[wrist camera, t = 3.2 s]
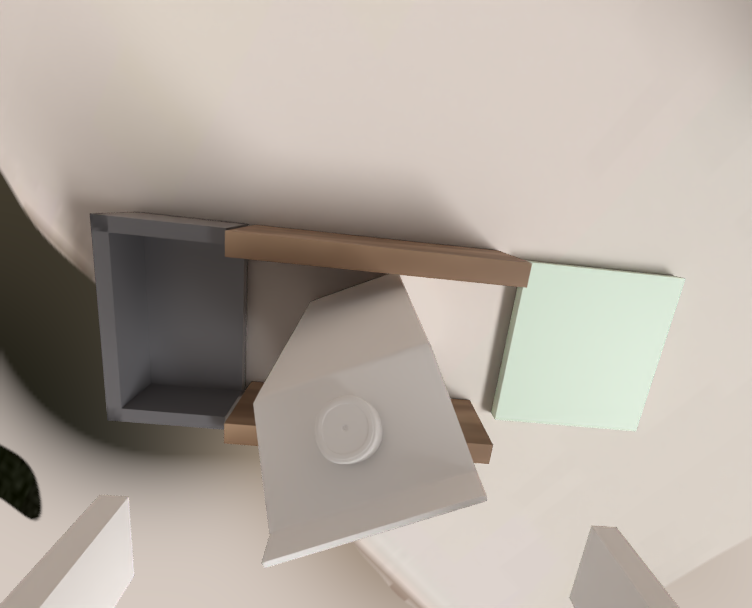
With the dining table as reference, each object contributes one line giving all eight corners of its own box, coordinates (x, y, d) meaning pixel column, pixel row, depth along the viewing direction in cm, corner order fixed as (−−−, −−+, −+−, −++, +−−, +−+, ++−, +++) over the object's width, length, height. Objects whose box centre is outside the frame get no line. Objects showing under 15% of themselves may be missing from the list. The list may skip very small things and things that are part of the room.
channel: (255, 224, 27) (224, 230, 21) (498, 250, 28) (532, 263, 22) (250, 398, 31) (224, 443, 25) (466, 416, 32) (489, 463, 26)
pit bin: (134, 211, 27) (89, 213, 23) (248, 223, 27) (225, 227, 23) (144, 389, 30) (107, 420, 26) (244, 397, 31) (224, 429, 26)
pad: (523, 260, 28) (528, 262, 27) (674, 276, 29) (685, 278, 28) (491, 412, 32) (494, 419, 31) (627, 424, 32) (635, 431, 31)
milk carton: (425, 353, 30) (515, 585, 12) (342, 380, 31) (306, 645, 12) (397, 270, 28) (453, 393, 10) (309, 301, 29) (209, 472, 11)
